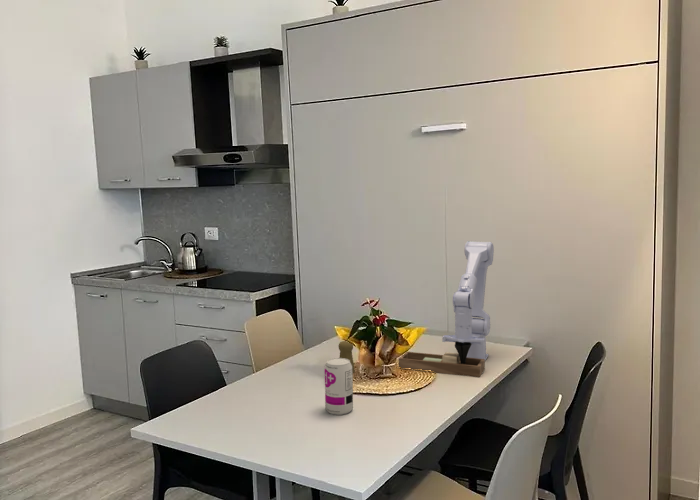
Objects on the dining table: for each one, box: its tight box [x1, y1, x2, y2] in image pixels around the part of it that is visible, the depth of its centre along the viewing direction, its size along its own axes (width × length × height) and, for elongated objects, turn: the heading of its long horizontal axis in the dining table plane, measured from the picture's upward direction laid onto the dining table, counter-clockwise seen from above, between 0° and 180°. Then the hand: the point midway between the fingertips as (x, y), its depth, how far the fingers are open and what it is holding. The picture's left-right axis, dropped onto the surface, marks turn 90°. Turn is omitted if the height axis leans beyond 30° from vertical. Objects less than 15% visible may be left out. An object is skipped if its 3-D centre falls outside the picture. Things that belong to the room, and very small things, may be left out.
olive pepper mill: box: [338, 340, 356, 375], centre depth 221 cm, size 6×6×11 cm
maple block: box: [442, 351, 460, 364], centre depth 220 cm, size 5×5×3 cm
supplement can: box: [324, 357, 354, 416], centre depth 185 cm, size 8×8×15 cm
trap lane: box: [398, 351, 486, 378], centre depth 222 cm, size 9×29×4 cm, turn 67°
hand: (463, 362), depth 219 cm, fingers closed
